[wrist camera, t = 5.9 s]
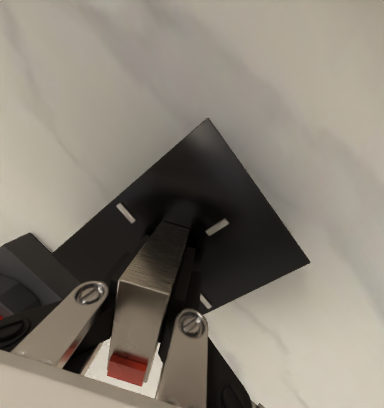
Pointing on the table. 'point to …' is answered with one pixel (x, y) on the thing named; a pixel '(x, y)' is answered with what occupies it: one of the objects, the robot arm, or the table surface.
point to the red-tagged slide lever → (144, 303)
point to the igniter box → (31, 276)
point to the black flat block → (193, 222)
